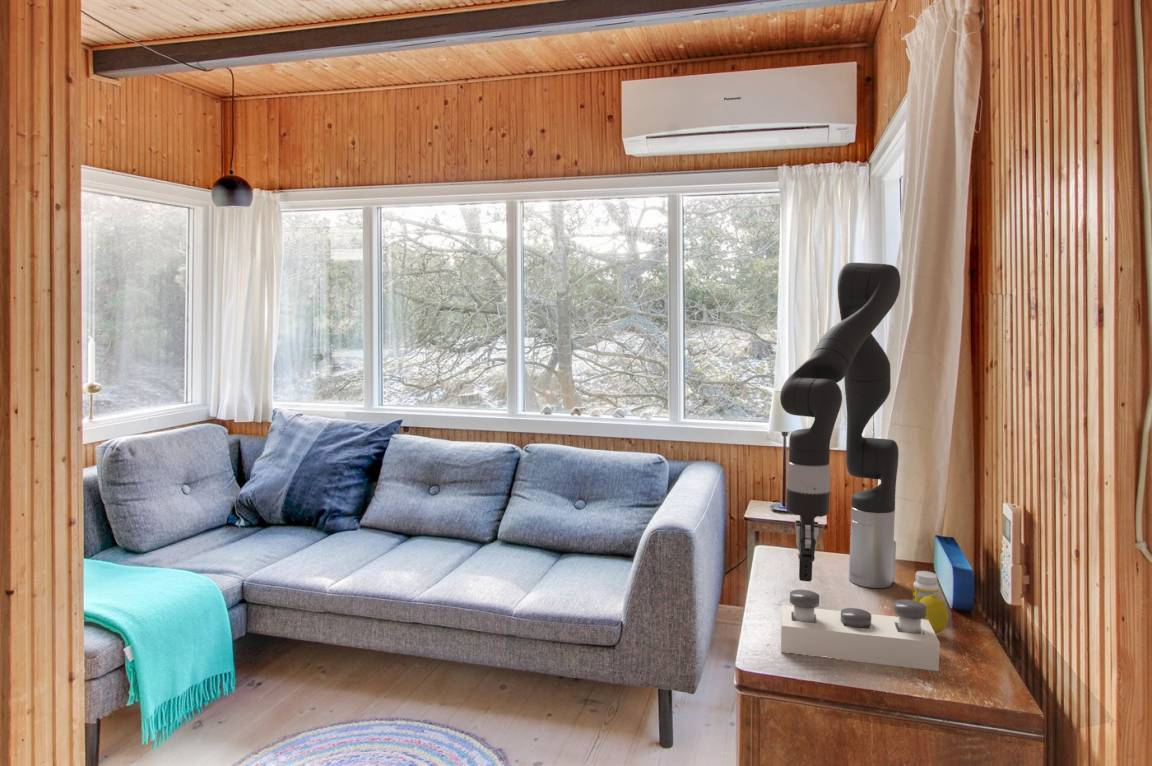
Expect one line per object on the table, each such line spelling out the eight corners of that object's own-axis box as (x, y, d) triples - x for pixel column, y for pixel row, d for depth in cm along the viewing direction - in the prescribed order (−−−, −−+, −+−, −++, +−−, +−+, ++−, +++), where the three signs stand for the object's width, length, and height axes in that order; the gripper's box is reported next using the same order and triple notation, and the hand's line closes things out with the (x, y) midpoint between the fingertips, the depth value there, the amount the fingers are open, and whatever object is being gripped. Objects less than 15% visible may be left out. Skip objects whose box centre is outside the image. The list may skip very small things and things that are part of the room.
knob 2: (895, 639, 129) (896, 608, 128) (891, 627, 134) (892, 598, 133) (927, 642, 127) (929, 612, 127) (922, 630, 132) (923, 601, 132)
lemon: (929, 643, 136) (931, 601, 135) (908, 631, 141) (910, 590, 140) (954, 640, 137) (956, 598, 137) (932, 628, 143) (934, 588, 142)
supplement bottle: (915, 607, 153) (917, 568, 152) (940, 613, 150) (942, 573, 149) (909, 614, 149) (911, 574, 148) (934, 620, 146) (936, 579, 145)
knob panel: (780, 652, 132) (781, 625, 131) (780, 630, 141) (781, 605, 141) (938, 671, 125) (939, 642, 125) (926, 646, 135) (928, 619, 134)
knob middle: (841, 647, 131) (842, 617, 131) (838, 635, 136) (839, 606, 136) (872, 650, 130) (873, 620, 129) (868, 638, 135) (869, 609, 134)
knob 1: (789, 627, 133) (790, 598, 133) (788, 616, 138) (789, 588, 138) (819, 630, 132) (820, 601, 132) (817, 619, 137) (818, 591, 137)
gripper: (832, 496, 126) (829, 594, 127) (827, 480, 138) (824, 570, 140) (787, 493, 128) (784, 590, 129) (786, 478, 140) (783, 566, 142)
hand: (805, 579), depth 134 cm, fingers closed
